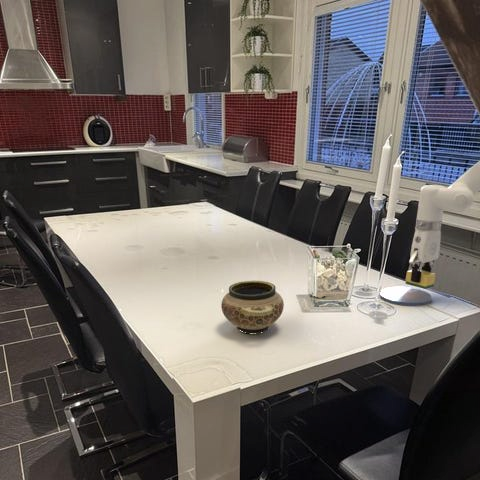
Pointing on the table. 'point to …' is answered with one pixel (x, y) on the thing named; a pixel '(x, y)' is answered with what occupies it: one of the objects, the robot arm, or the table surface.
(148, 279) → the table surface
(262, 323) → the ceramic bowl
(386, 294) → the plate
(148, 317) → the table surface
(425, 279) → the sponge
